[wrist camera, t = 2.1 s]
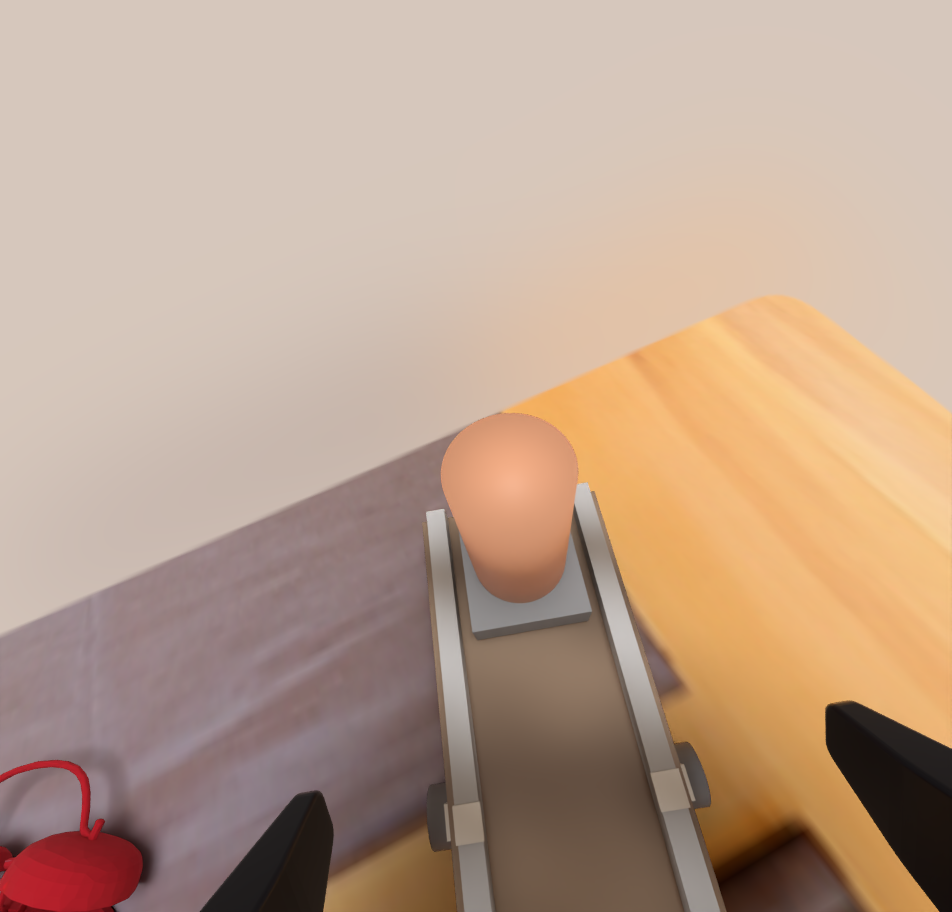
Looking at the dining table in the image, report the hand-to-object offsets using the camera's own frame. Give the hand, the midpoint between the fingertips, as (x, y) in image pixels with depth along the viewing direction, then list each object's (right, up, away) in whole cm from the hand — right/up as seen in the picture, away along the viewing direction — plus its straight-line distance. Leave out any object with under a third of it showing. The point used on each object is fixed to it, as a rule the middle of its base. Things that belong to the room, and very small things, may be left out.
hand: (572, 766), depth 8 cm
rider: (0, +1, +11) cm, 11 cm away
